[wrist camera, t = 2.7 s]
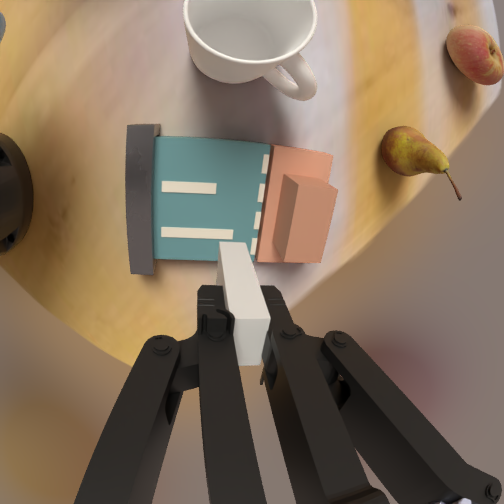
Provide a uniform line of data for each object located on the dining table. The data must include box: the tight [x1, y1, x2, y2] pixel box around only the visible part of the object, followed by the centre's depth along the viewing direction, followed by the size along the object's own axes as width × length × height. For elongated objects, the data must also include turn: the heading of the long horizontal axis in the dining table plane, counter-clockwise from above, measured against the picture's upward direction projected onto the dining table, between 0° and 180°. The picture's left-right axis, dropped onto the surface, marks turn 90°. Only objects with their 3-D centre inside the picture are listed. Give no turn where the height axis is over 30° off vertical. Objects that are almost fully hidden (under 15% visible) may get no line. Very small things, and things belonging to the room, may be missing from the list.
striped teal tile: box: [153, 136, 271, 262], centre depth 26 cm, size 13×12×2 cm
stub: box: [255, 144, 338, 263], centre depth 26 cm, size 6×12×6 cm, turn 173°
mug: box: [183, 0, 317, 101], centre depth 16 cm, size 12×8×10 cm
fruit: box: [382, 126, 462, 200], centre depth 22 cm, size 6×6×12 cm
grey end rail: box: [125, 124, 160, 275], centre depth 24 cm, size 2×14×3 cm, turn 173°
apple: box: [446, 25, 504, 85], centre depth 18 cm, size 9×9×8 cm
